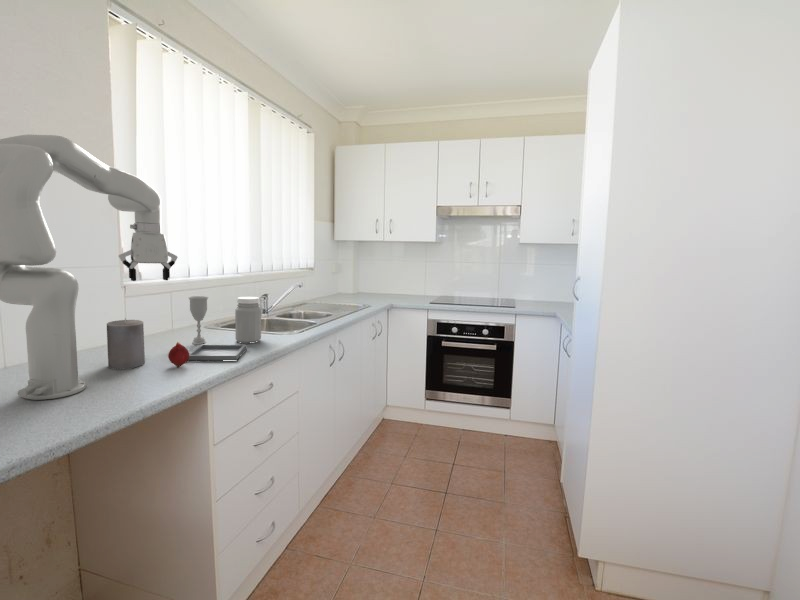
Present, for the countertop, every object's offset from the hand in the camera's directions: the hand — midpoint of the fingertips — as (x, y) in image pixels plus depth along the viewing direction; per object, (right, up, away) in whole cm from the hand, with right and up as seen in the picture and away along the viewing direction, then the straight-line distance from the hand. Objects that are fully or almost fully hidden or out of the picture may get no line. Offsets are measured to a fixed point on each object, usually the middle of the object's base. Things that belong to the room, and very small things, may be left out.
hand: (149, 280), depth 139 cm
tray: (+20, -26, +6) cm, 34 cm away
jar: (+23, -24, +29) cm, 44 cm away
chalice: (+5, -24, +23) cm, 33 cm away
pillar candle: (-2, -27, -9) cm, 29 cm away
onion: (+15, -28, -9) cm, 33 cm away
